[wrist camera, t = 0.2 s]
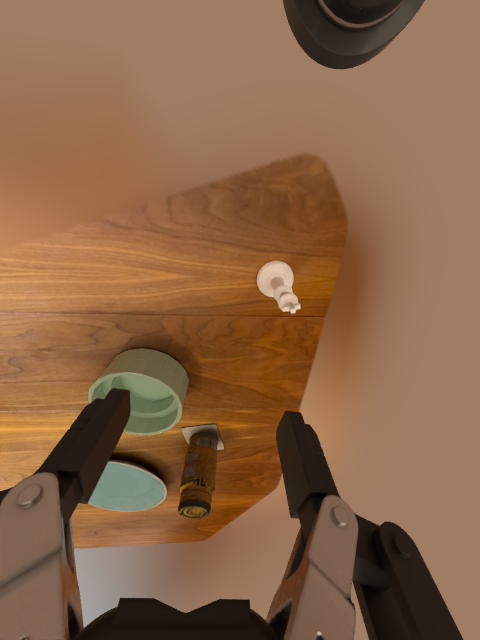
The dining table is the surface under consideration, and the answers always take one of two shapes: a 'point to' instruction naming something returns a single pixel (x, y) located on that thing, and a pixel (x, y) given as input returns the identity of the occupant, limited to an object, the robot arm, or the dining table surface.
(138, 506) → the plate
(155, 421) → the bowl
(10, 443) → the dining table surface
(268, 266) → the chess piece
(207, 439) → the condiment
